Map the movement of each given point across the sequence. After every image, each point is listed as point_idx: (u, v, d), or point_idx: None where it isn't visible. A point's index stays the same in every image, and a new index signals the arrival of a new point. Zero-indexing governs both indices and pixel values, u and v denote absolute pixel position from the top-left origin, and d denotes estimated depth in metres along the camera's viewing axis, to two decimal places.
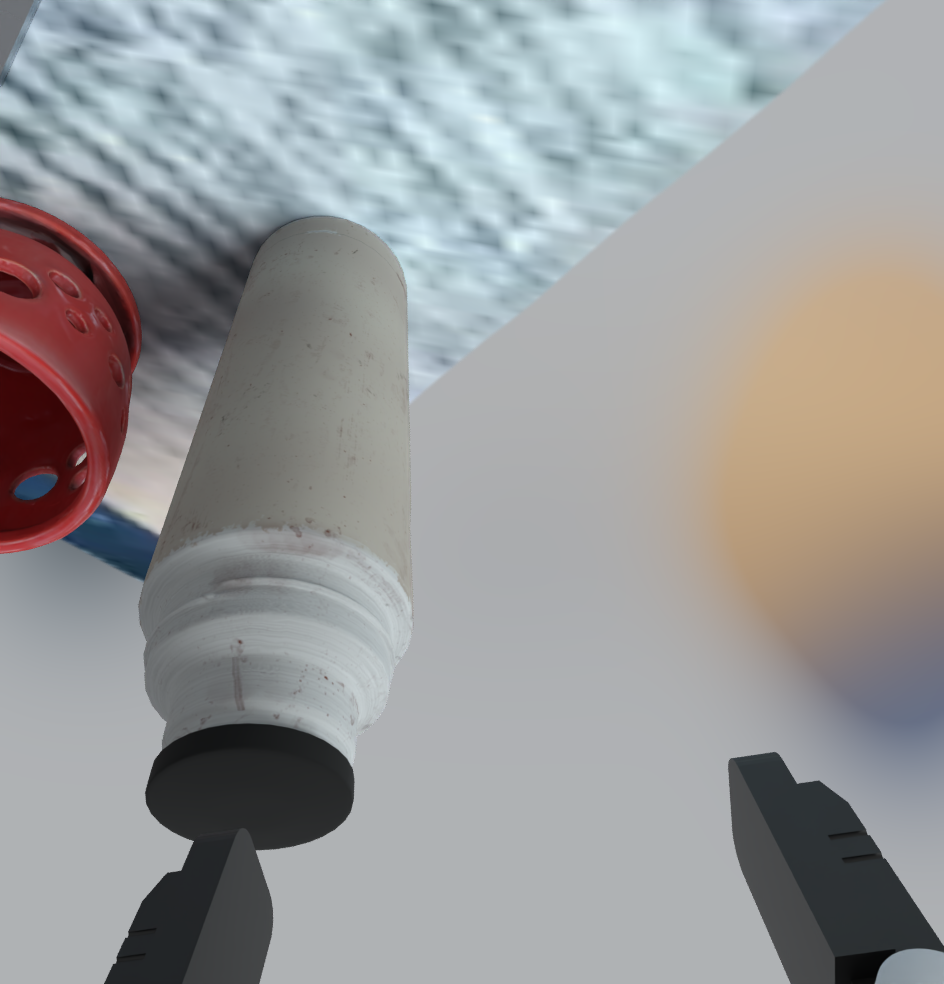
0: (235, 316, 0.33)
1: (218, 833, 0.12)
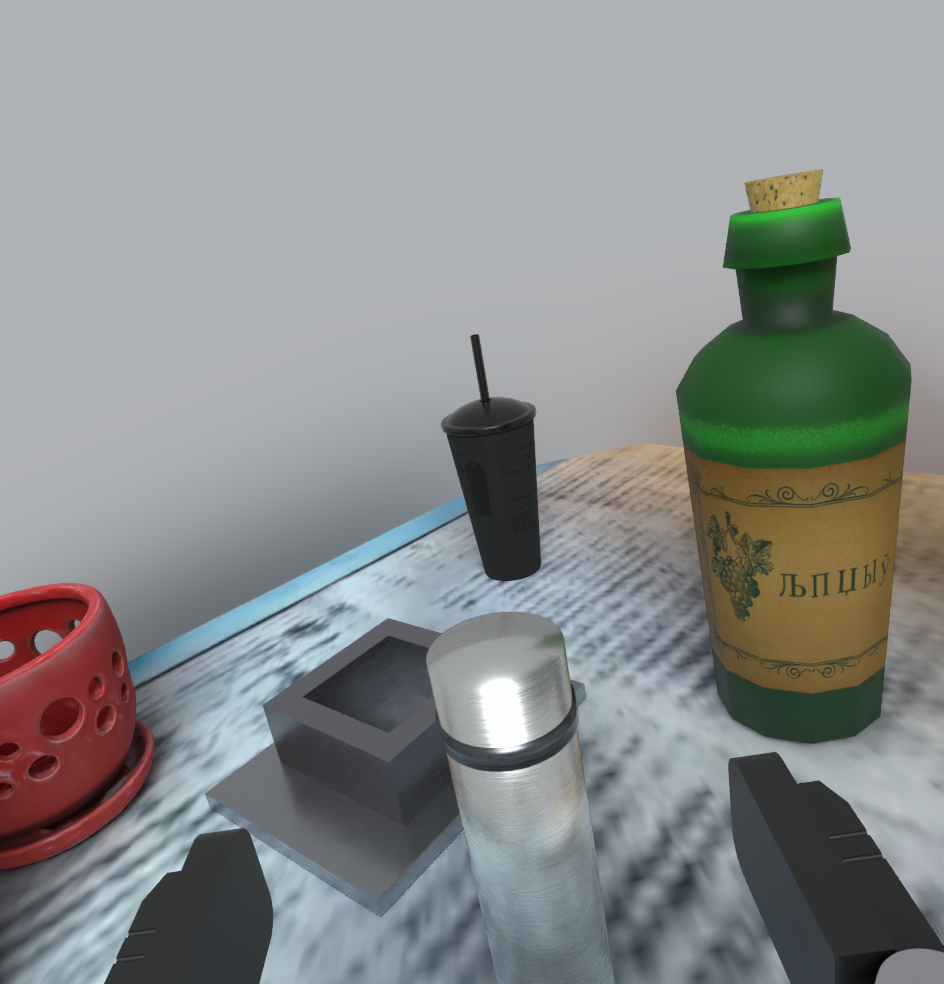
0: None
1: (218, 833, 0.12)
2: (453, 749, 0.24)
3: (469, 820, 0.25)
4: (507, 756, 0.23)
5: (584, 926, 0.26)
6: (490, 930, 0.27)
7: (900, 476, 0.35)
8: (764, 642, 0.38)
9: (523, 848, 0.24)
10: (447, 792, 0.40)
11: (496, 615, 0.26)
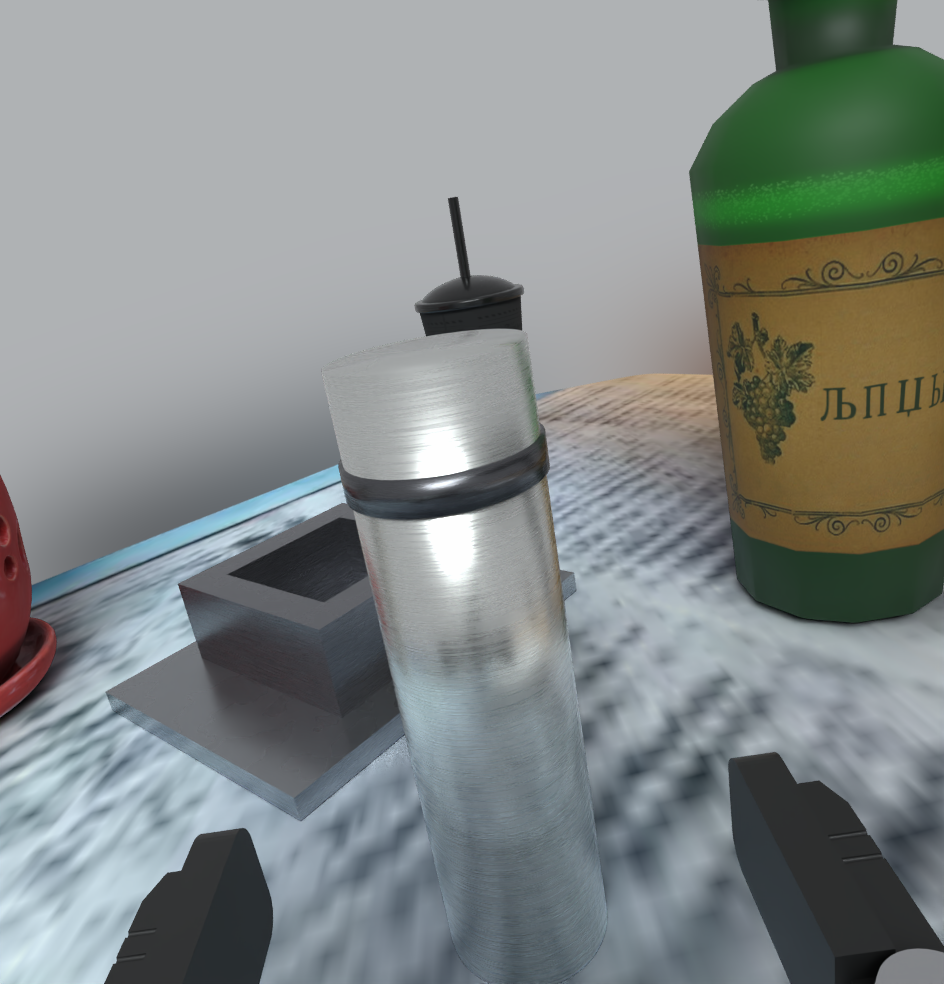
0: None
1: (218, 833, 0.12)
2: (359, 493, 0.16)
3: (387, 617, 0.17)
4: (436, 493, 0.15)
5: (558, 787, 0.18)
6: (424, 797, 0.19)
7: None
8: (799, 488, 0.30)
9: (465, 651, 0.16)
10: None
11: (435, 336, 0.18)
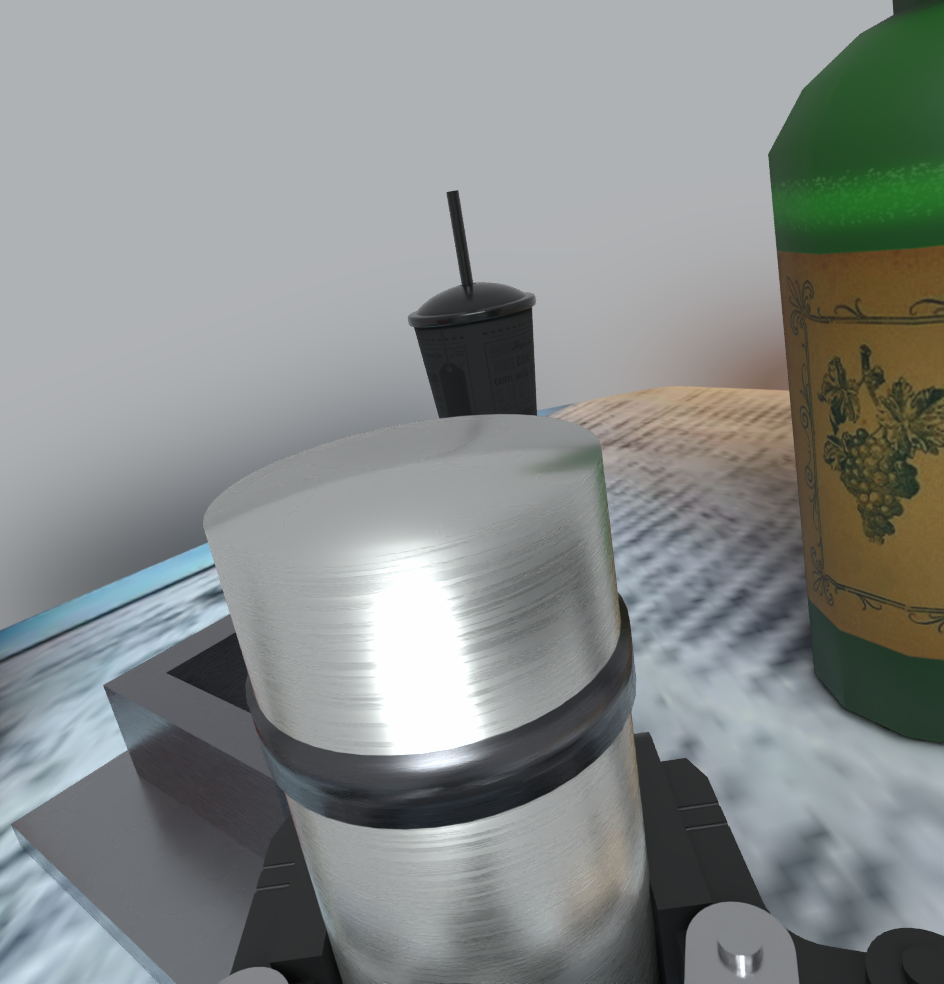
0: None
1: None
2: (275, 757, 0.08)
3: (339, 951, 0.09)
4: (427, 783, 0.07)
5: None
6: None
7: None
8: (918, 578, 0.23)
9: None
10: None
11: (425, 423, 0.10)
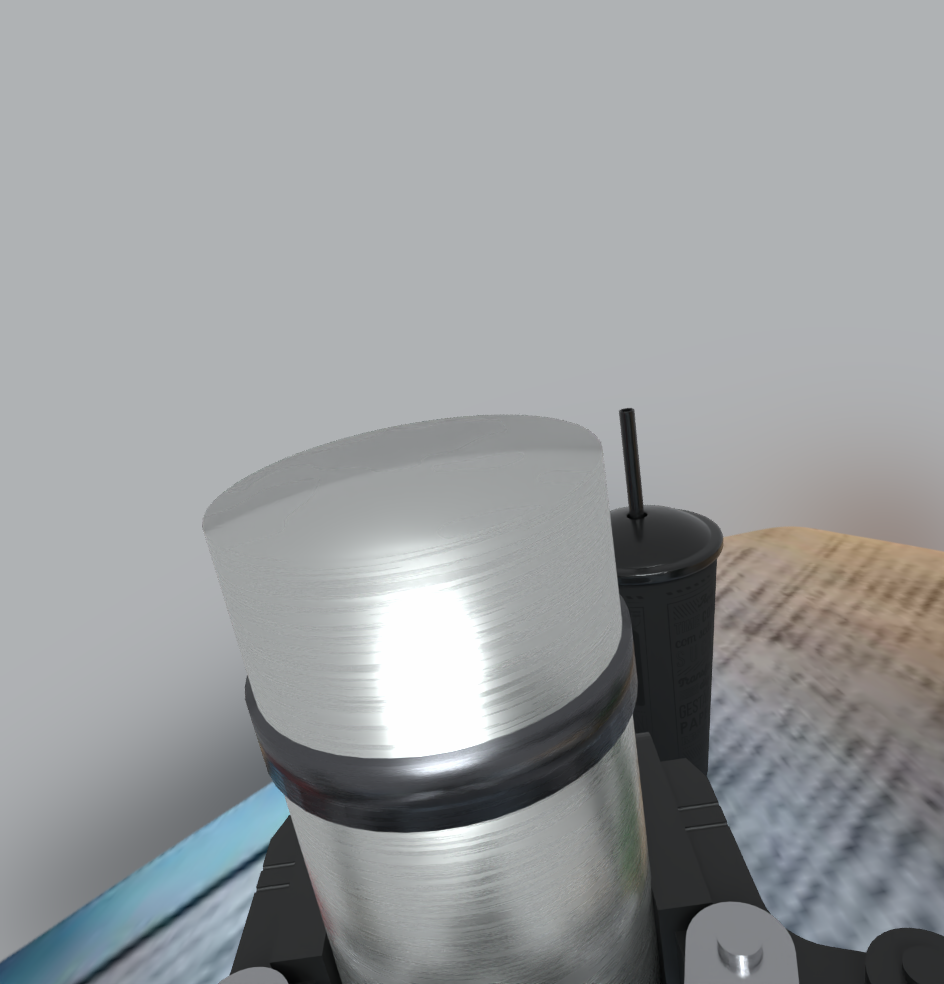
0: None
1: None
2: (276, 761, 0.08)
3: (339, 955, 0.09)
4: (427, 785, 0.07)
5: None
6: None
7: None
8: None
9: None
10: None
11: (425, 424, 0.10)
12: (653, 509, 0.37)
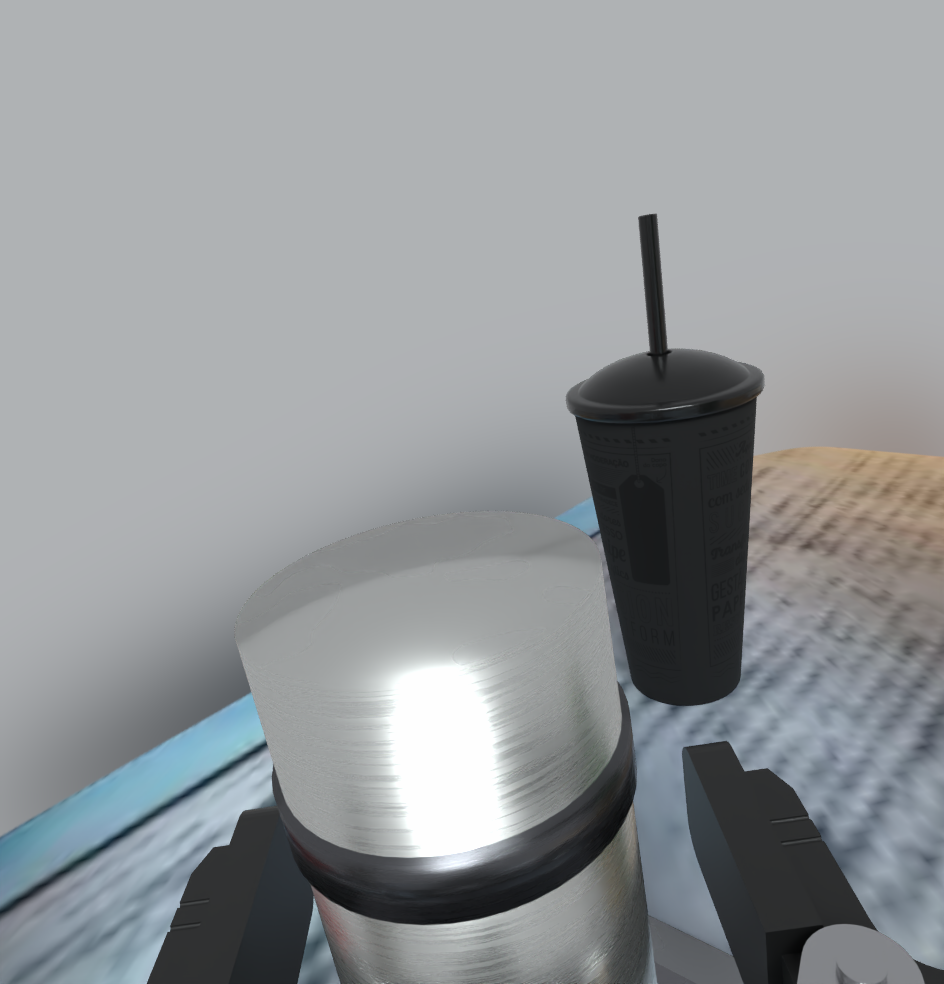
0: None
1: (263, 809, 0.13)
2: (302, 852, 0.09)
3: None
4: (443, 881, 0.08)
5: None
6: None
7: None
8: None
9: None
10: None
11: (437, 519, 0.11)
12: None
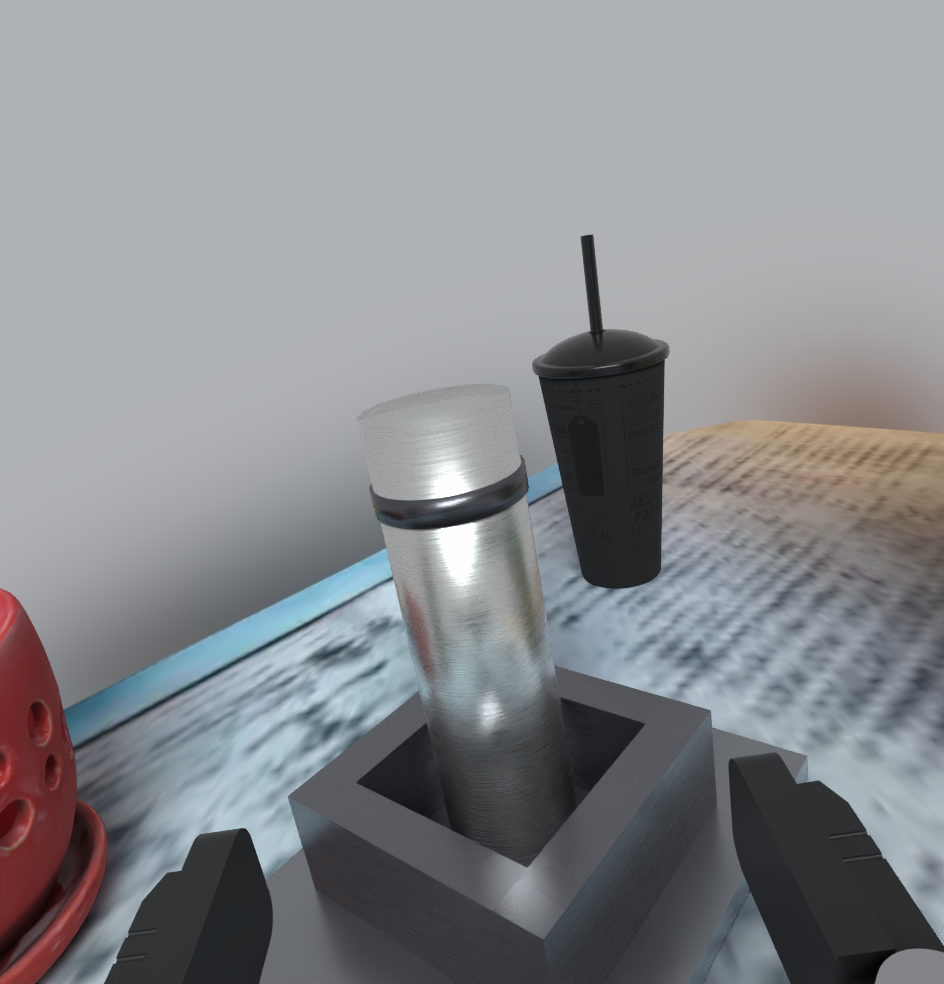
0: None
1: (218, 833, 0.12)
2: (386, 510, 0.21)
3: (407, 604, 0.22)
4: (443, 509, 0.21)
5: (539, 734, 0.23)
6: (436, 745, 0.24)
7: None
8: None
9: (466, 627, 0.22)
10: (627, 972, 0.22)
11: (440, 389, 0.24)
12: (611, 329, 0.43)
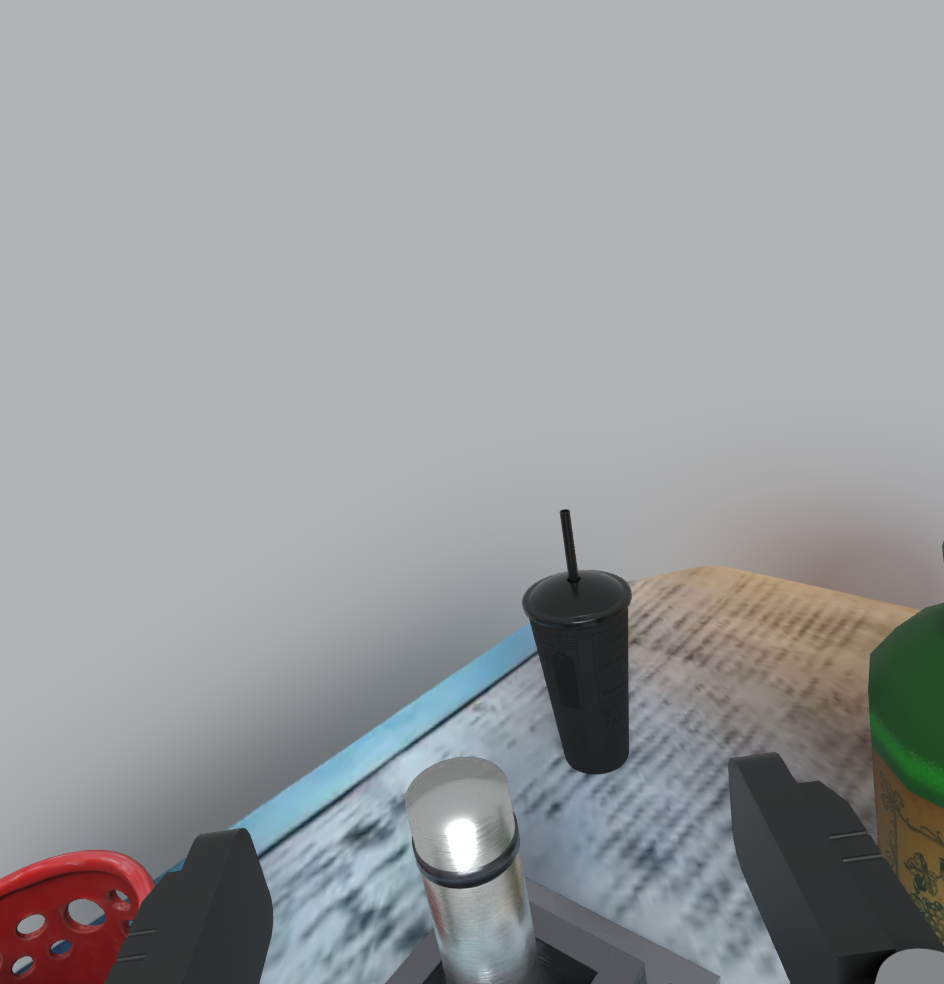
0: None
1: (218, 833, 0.12)
2: (424, 869, 0.32)
3: (436, 920, 0.33)
4: (463, 877, 0.31)
5: None
6: None
7: None
8: None
9: (476, 943, 0.32)
10: None
11: (460, 759, 0.34)
12: (585, 574, 0.54)
